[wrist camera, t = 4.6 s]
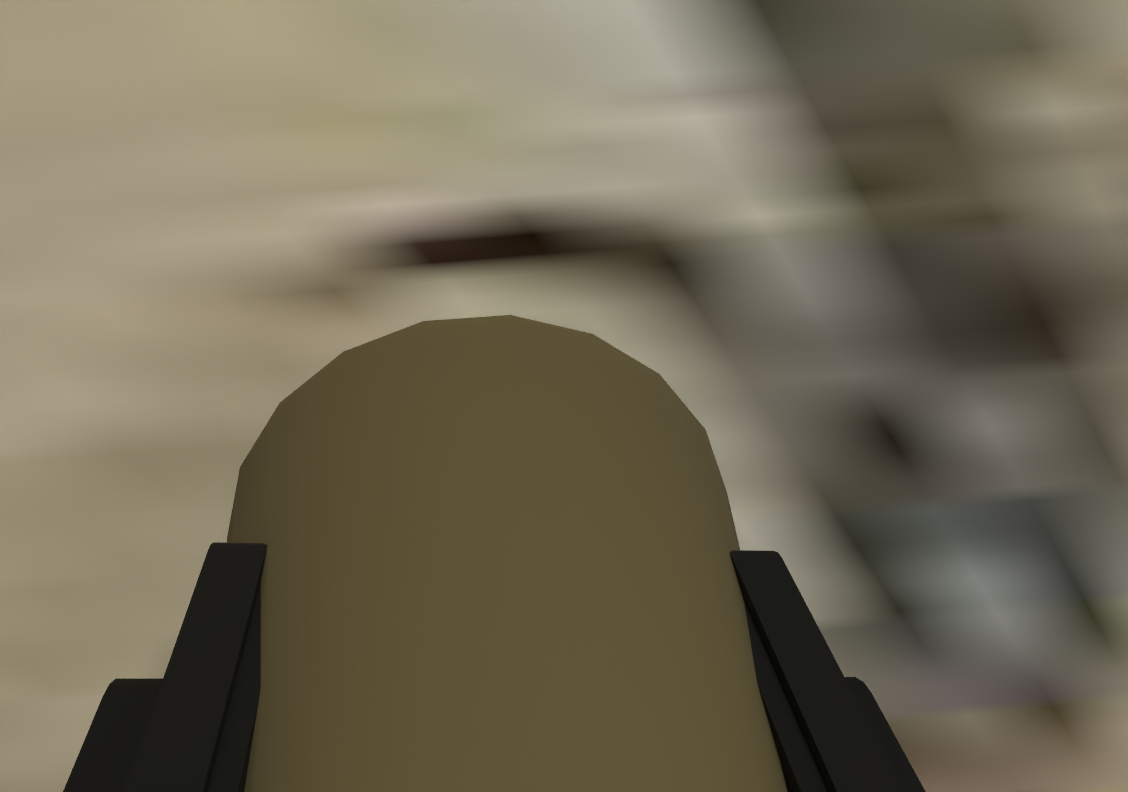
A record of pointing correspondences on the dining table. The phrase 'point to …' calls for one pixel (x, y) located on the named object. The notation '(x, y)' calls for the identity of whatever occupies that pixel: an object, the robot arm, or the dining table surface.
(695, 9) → the dining table surface
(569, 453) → the cork
